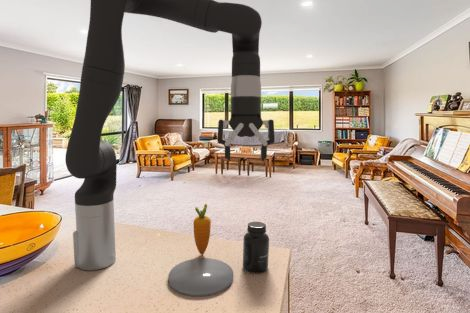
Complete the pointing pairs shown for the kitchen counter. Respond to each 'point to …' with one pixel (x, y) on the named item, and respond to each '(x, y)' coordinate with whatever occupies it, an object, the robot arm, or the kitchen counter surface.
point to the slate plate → (200, 277)
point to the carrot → (202, 230)
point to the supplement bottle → (256, 248)
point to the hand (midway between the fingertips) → (245, 160)
